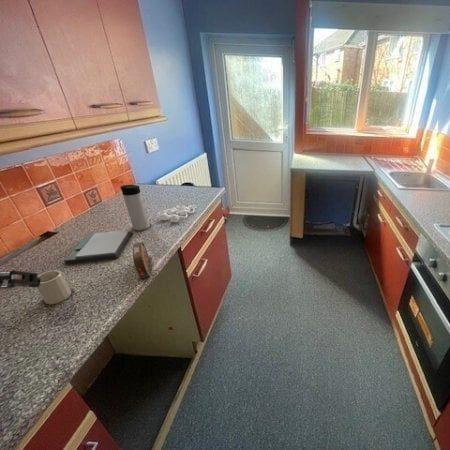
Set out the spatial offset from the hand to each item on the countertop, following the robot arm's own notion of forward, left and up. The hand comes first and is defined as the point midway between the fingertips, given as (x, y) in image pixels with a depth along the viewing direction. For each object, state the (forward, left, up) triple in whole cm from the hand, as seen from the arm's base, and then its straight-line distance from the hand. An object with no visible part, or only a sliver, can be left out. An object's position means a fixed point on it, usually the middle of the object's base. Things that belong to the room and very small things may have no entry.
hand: (15, 285), depth 58 cm
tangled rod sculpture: (+25, +60, -13) cm, 66 cm away
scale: (+2, +35, -13) cm, 37 cm away
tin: (+20, +18, -13) cm, 30 cm away
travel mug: (+12, +49, -13) cm, 52 cm away
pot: (0, +9, -13) cm, 16 cm away
